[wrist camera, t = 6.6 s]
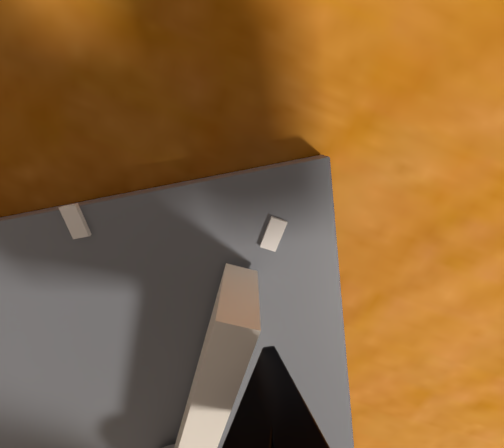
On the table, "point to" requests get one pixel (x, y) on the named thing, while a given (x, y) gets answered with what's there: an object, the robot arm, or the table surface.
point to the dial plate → (165, 305)
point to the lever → (222, 359)
